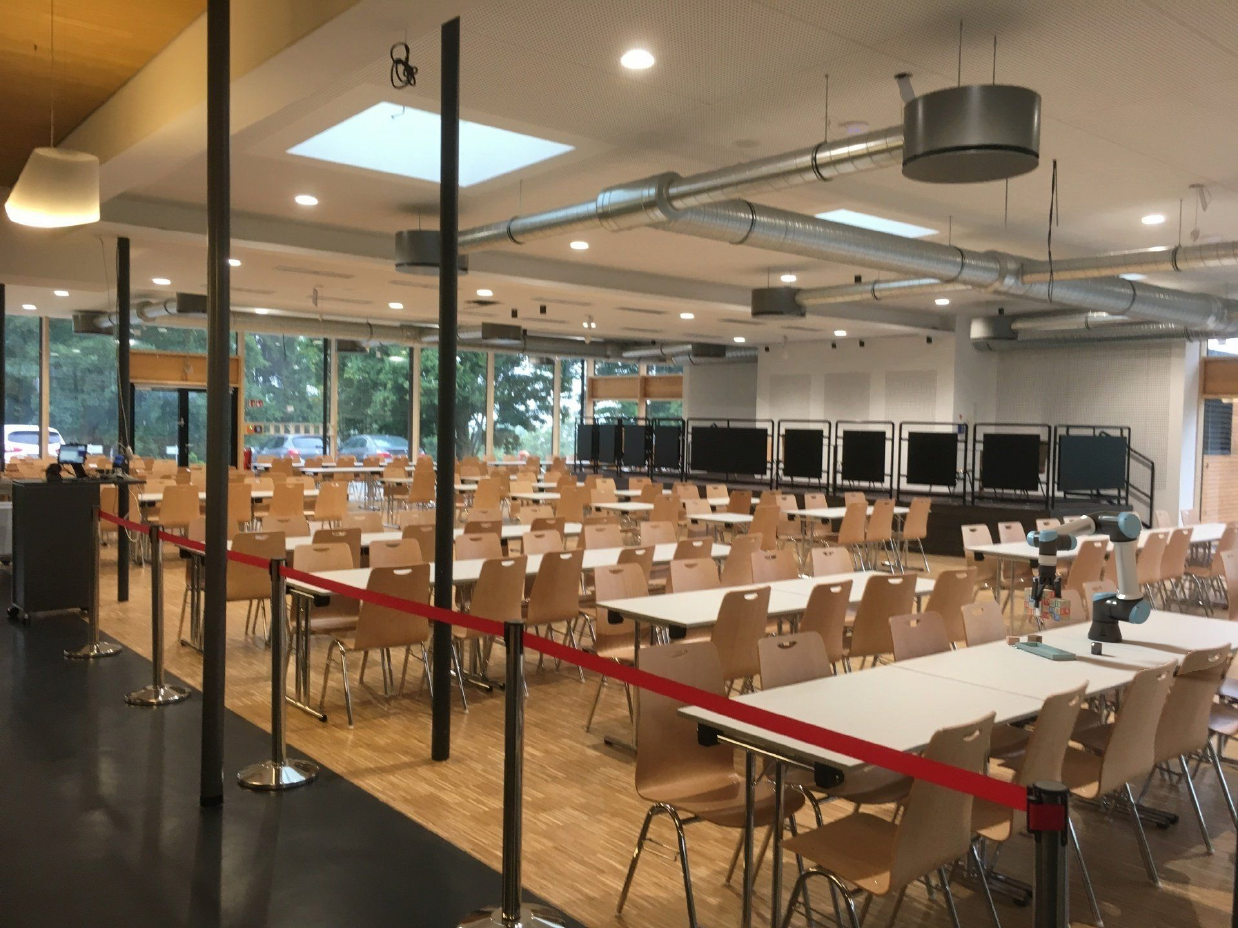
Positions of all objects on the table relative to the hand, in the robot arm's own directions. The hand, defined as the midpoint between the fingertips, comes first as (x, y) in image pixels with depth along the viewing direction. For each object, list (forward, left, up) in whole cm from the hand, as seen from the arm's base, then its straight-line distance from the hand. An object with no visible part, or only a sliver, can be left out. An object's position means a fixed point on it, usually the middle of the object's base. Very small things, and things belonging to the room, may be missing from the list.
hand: (1045, 614), depth 443 cm
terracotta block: (+3, -19, -18) cm, 26 cm away
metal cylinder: (-24, +4, -18) cm, 30 cm away
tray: (0, 0, -18) cm, 18 cm away
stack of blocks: (0, 0, -1) cm, 1 cm away
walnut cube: (-8, -18, -18) cm, 26 cm away
